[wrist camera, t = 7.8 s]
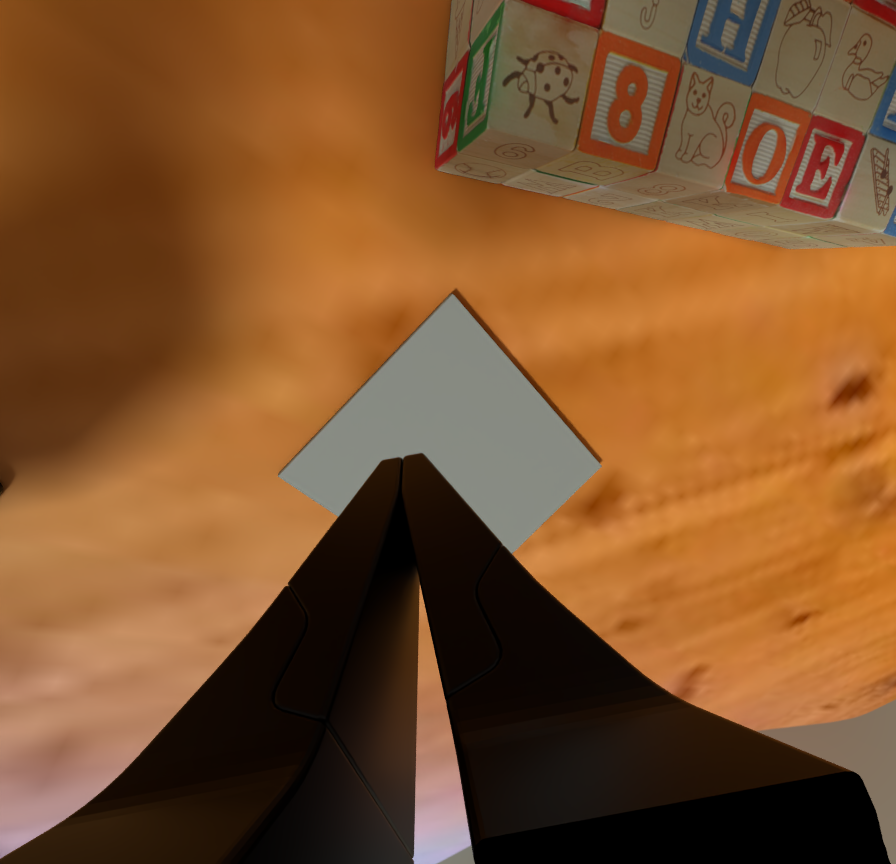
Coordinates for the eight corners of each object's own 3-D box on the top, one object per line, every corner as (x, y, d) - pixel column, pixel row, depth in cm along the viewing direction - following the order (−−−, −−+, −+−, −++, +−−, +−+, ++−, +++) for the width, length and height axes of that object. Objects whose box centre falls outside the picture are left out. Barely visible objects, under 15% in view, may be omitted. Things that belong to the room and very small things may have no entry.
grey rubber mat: (462, 597, 27) (464, 600, 26) (278, 473, 20) (277, 476, 20) (598, 464, 26) (601, 466, 26) (450, 293, 20) (452, 293, 19)
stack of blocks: (786, 253, 24) (890, -22, 20) (927, 250, 19) (1110, -132, 15) (429, 169, 18) (477, -267, 13) (482, 124, 12) (591, -641, 8)
